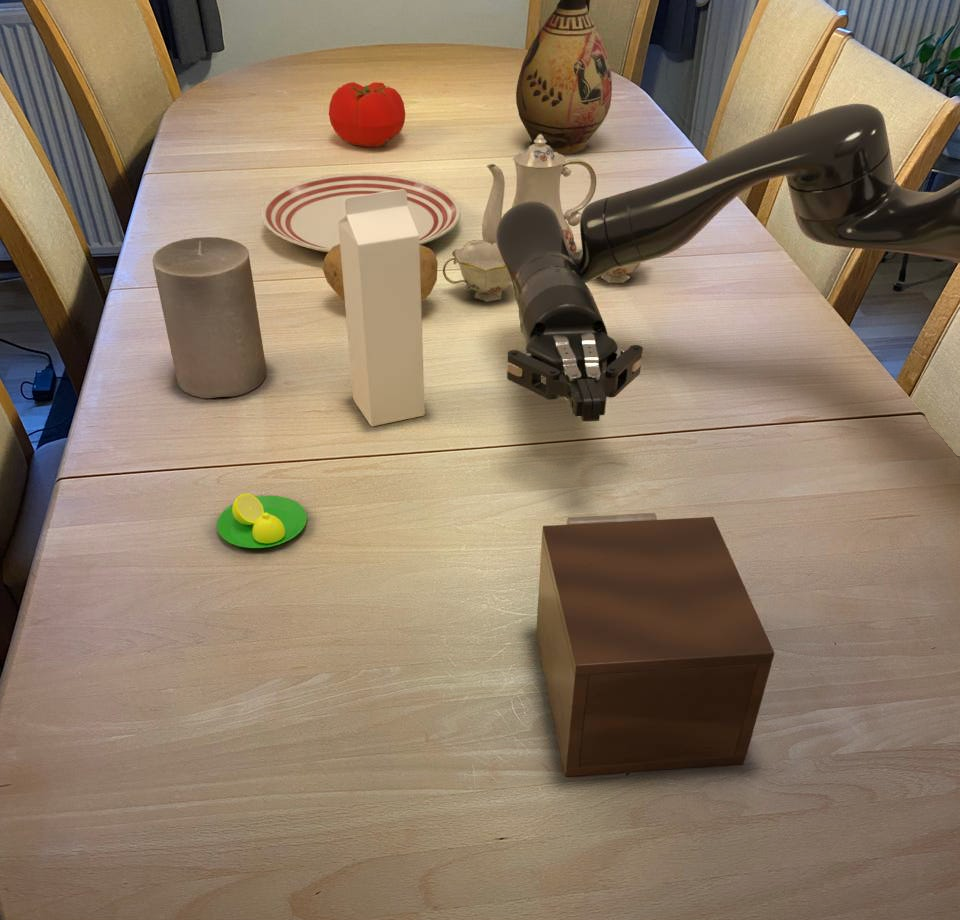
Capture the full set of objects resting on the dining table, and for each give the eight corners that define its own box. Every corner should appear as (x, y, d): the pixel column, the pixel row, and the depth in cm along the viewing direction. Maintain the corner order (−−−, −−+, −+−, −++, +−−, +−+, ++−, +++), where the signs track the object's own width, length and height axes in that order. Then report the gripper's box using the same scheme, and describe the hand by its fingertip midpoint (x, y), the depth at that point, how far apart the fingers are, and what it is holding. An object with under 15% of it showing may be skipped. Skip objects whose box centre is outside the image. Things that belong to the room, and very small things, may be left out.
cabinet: (535, 634, 82) (542, 525, 75) (692, 624, 83) (713, 516, 76) (565, 777, 71) (576, 665, 64) (744, 763, 72) (775, 652, 65)
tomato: (427, 142, 173) (425, 85, 167) (371, 160, 166) (367, 100, 160) (372, 124, 180) (368, 68, 174) (316, 140, 173) (310, 83, 167)
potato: (339, 286, 130) (334, 223, 125) (447, 297, 128) (446, 233, 123) (314, 320, 123) (307, 254, 118) (428, 331, 121) (426, 265, 116)
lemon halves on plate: (200, 541, 91) (194, 515, 89) (247, 493, 97) (243, 468, 95) (279, 562, 89) (275, 536, 87) (323, 512, 94) (320, 486, 92)
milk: (425, 416, 107) (419, 200, 92) (370, 428, 105) (355, 209, 90) (404, 389, 111) (396, 178, 96) (351, 399, 109) (334, 186, 94)
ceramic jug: (579, 167, 164) (594, -57, 144) (497, 150, 170) (501, -68, 150) (627, 139, 174) (648, -73, 154) (549, 123, 180) (559, -83, 160)
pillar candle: (223, 349, 118) (200, 216, 108) (285, 373, 114) (267, 238, 103) (158, 382, 112) (127, 246, 102) (221, 409, 108) (195, 270, 98)
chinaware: (468, 331, 125) (474, 195, 112) (417, 265, 135) (418, 135, 122) (665, 292, 133) (691, 162, 121) (604, 233, 143) (622, 108, 131)
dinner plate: (499, 241, 141) (499, 217, 139) (322, 288, 130) (319, 262, 128) (396, 183, 158) (395, 160, 156) (231, 220, 147) (228, 196, 144)
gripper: (492, 286, 96) (515, 375, 84) (631, 280, 97) (674, 367, 85) (491, 359, 101) (513, 454, 89) (623, 354, 102) (663, 446, 90)
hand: (592, 411), depth 87 cm, fingers closed
